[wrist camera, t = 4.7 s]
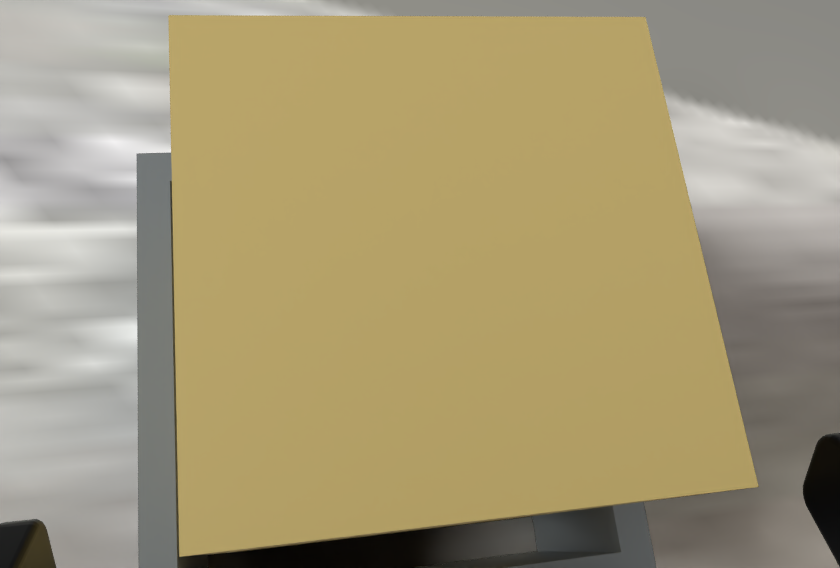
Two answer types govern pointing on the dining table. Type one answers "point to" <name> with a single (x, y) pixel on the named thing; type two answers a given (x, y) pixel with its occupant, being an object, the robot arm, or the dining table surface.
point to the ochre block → (433, 279)
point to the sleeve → (157, 427)
